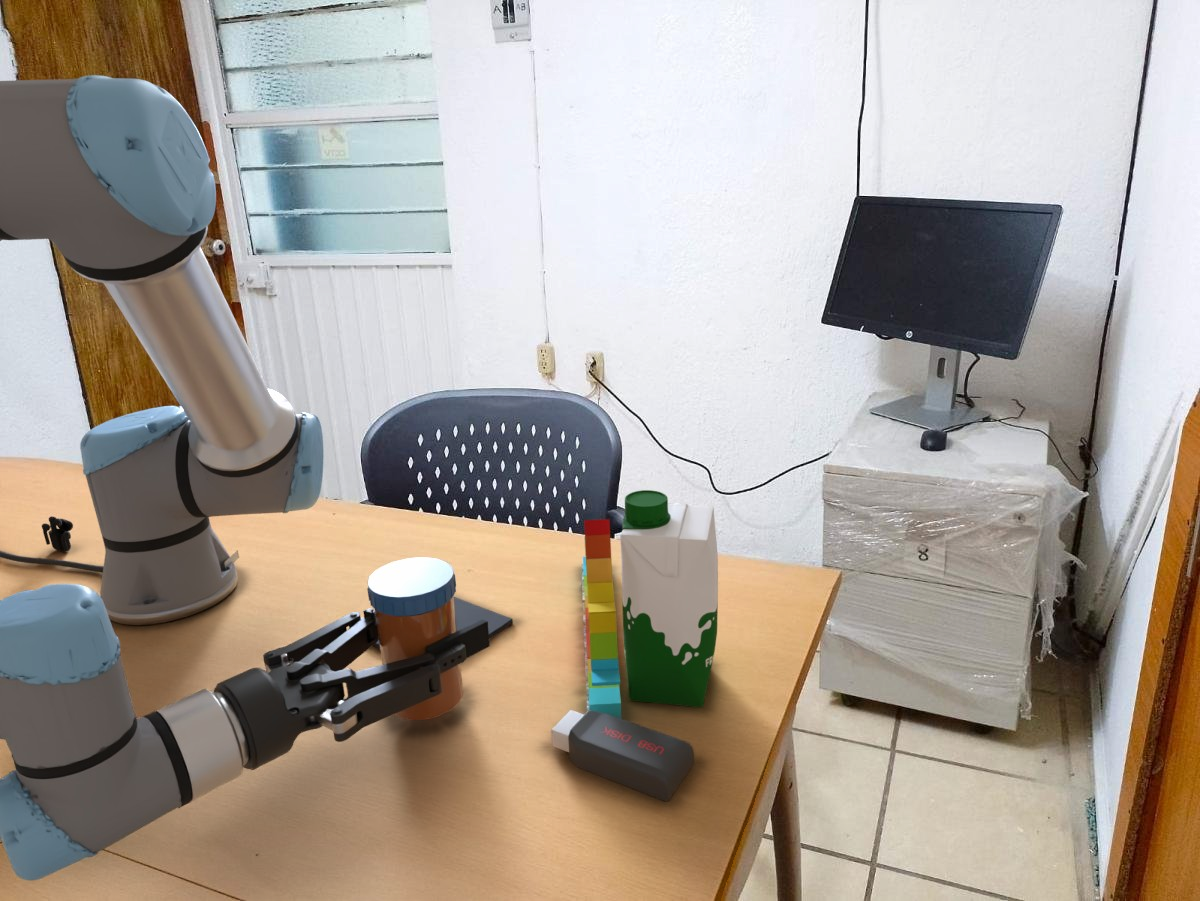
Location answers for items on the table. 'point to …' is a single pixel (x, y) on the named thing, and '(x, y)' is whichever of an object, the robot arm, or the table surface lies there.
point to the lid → (411, 586)
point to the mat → (476, 618)
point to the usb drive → (624, 752)
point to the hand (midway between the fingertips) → (461, 618)
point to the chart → (600, 621)
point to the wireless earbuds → (58, 533)
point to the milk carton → (668, 598)
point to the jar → (409, 640)
